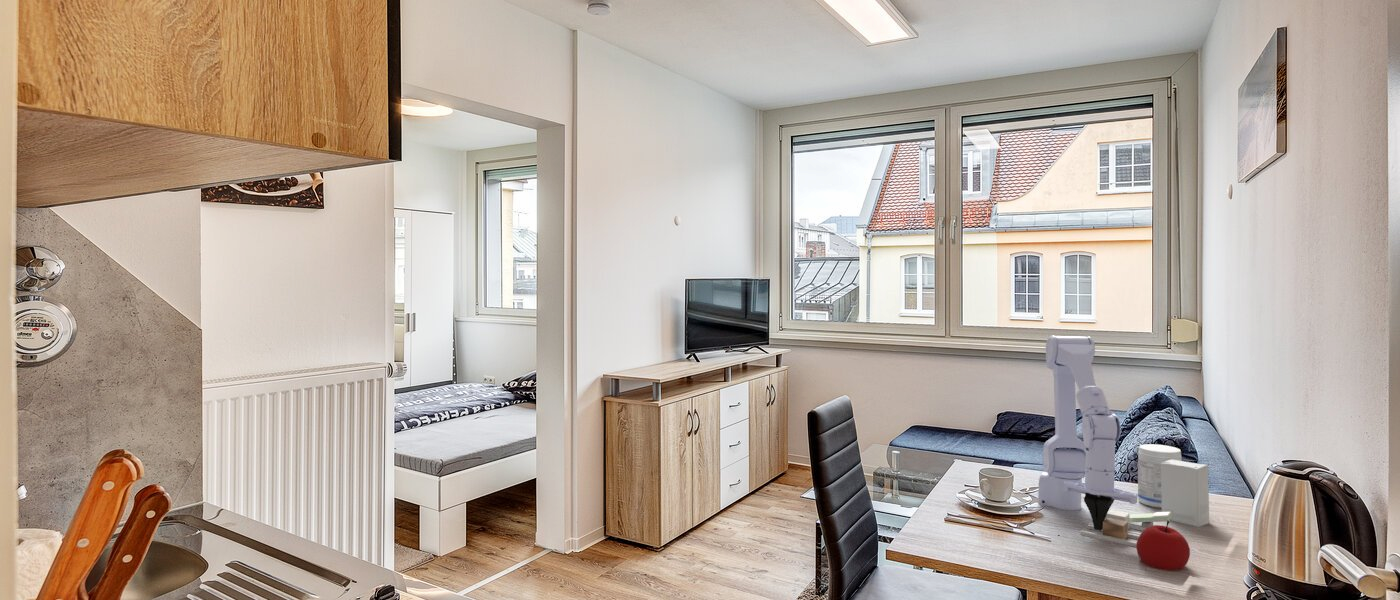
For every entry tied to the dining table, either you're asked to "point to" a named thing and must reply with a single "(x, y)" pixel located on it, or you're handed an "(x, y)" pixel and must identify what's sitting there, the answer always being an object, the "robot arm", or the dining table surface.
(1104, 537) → the control board
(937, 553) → the dining table surface
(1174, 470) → the skincare box
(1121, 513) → the white cube
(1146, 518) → the sage rocker
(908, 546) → the dining table surface
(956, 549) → the dining table surface
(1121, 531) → the brown cube
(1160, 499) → the supplement tub
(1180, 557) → the apple
